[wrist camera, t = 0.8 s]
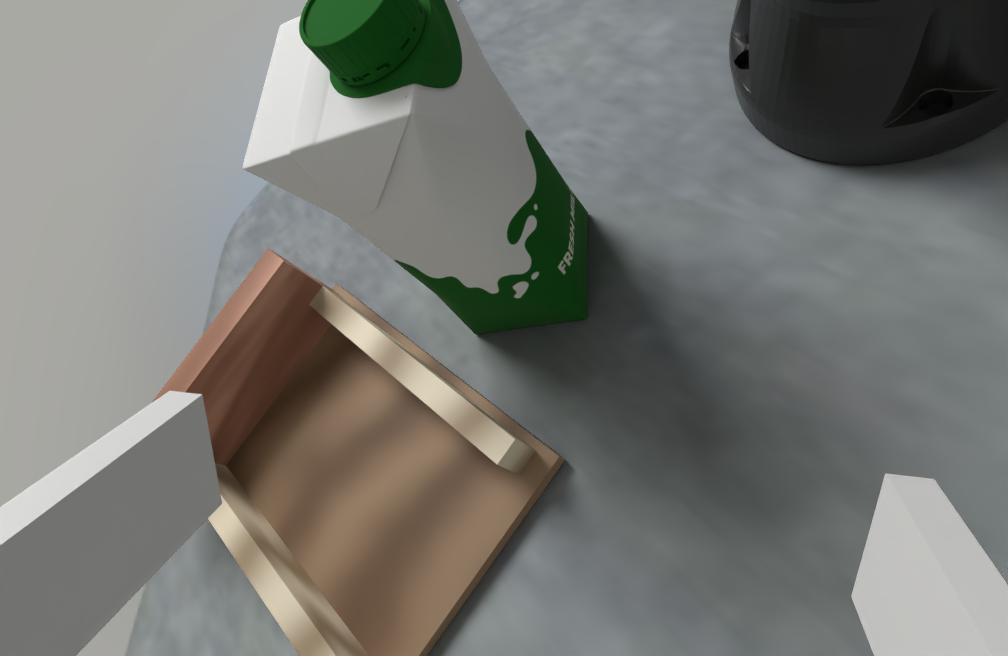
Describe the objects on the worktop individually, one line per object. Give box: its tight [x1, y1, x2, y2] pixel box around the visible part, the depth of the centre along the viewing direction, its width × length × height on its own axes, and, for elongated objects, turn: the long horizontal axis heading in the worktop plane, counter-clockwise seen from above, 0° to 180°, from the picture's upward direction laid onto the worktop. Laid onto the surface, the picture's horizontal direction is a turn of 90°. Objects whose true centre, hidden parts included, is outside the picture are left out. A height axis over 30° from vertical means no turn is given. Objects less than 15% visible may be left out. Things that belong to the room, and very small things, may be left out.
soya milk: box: [243, 0, 588, 334], centre depth 31 cm, size 9×9×20 cm
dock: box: [153, 248, 565, 656], centre depth 37 cm, size 21×16×7 cm
